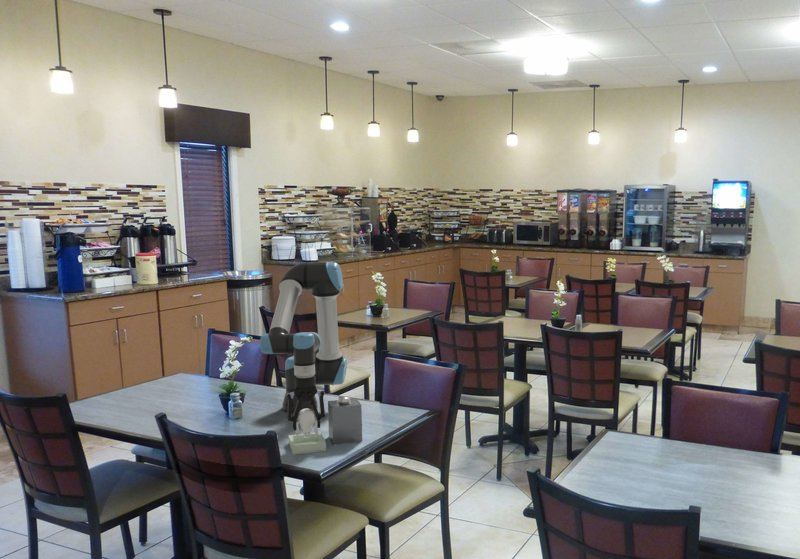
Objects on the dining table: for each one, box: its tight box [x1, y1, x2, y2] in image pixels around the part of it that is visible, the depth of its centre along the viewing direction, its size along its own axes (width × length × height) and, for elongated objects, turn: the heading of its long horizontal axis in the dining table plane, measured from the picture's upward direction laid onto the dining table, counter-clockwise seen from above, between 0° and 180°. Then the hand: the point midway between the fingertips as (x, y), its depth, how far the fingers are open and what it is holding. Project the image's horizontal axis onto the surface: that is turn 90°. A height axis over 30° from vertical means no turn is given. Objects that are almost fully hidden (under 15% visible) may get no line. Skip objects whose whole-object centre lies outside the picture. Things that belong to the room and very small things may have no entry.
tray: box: [288, 431, 327, 455], centre depth 250 cm, size 12×12×3 cm
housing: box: [327, 395, 363, 446], centre depth 258 cm, size 9×11×16 cm
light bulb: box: [297, 408, 316, 438], centre depth 250 cm, size 7×7×11 cm
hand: (306, 437), depth 250 cm, fingers closed on light bulb, 6 cm apart
